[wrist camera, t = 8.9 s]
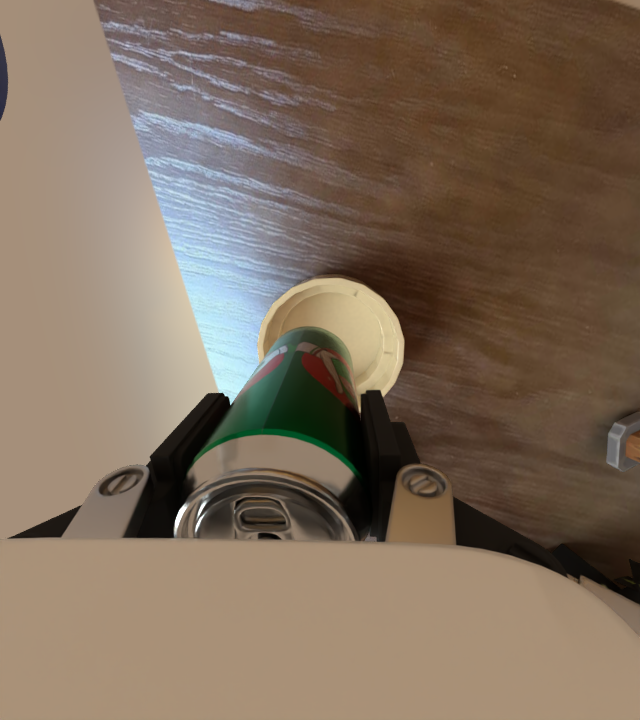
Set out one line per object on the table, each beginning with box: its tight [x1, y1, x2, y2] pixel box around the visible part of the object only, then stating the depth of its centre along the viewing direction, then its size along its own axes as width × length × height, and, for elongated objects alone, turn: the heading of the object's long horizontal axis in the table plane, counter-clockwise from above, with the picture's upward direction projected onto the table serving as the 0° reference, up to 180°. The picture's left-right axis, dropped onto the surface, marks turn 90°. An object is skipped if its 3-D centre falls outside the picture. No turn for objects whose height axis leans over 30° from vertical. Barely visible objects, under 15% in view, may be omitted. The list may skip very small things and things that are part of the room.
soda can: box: [174, 326, 373, 541], centre depth 12 cm, size 5×5×12 cm
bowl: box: [257, 274, 404, 412], centre depth 31 cm, size 14×14×6 cm
